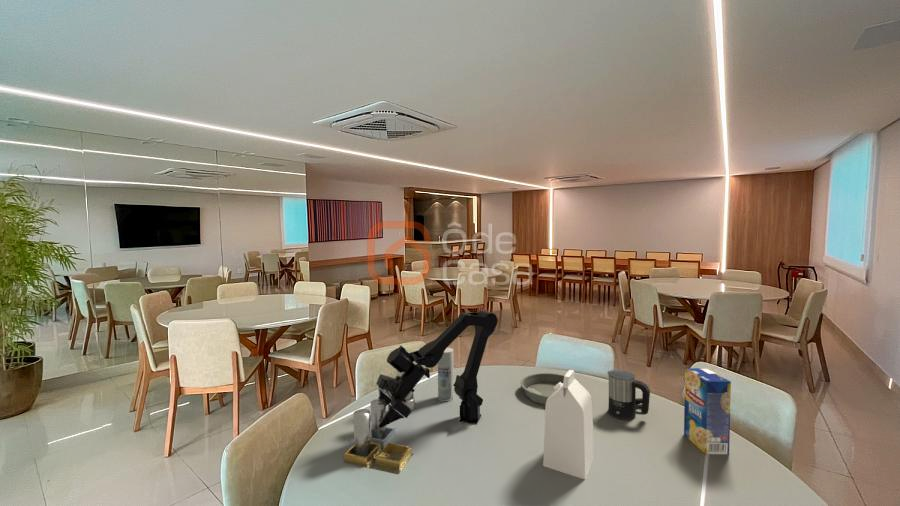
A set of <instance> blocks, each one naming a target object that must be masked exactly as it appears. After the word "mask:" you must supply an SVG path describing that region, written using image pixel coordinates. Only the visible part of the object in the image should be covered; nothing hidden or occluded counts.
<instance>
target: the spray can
mask: <svg viewBox="0 0 900 506" xmlns="http://www.w3.org/2000/svg"><path fill="white" fill-rule="evenodd" d="M454 376H455V375H454V349H453V348H452V347H449V346H448V347H447V348H446V349H445V351H444V353H443V356H442V358H441V359H440V361H439V362H438V363H437V391H438V393H437V396H438V400H439V401H440V400H441V402H443V401H449V402H452V401H454V398H455V396H454V393H455V391H454V386H453V385H454V383H455V382H454V379H455V378H454ZM451 400H452V401H451Z"/></svg>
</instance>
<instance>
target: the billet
mask: <svg viewBox="0 0 900 506" xmlns="http://www.w3.org/2000/svg"><path fill="white" fill-rule="evenodd" d="M386 413H387V406H386V401H385V400H384V399H378V398H376V399H373V400H371V401H370V429H371V438H375V439H380V440H384V439H385V437H386V436H387V435H388V434H387V430H386V427H387V425H386V426H384V427H382V428H380V427H379V424H380V422H381V421H382V419H383V418H384V416H385V415H386Z"/></svg>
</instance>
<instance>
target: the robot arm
mask: <svg viewBox="0 0 900 506" xmlns="http://www.w3.org/2000/svg"><path fill="white" fill-rule="evenodd" d="M498 323H499V318H498V317H497V315H496V314H495V313H493V312H491V311H488V310H485V309H481V310H479V311H477V312H476V311H475V312H474V311H472V312H461V313H459V315H458V316H457V318H455V320H454V321H452V323H451V324H449V326H448V327H446V328H445V329H444V331H442V332H441V334H439V335H438V337H437V338H435V339H434V340H432V341H429V342H427V343H426V344H424V345H423V346H422V347H420V348H419V349H418V350H415V351H412V352H409V351H407V350H406V349H405V347H404V346H402V345H400V346H398V347H397V348H394V349H393V350H392V351H391V352H390V353H389V354H388V356H387V357H386V363H387V364H389V365H390V366H391V367H392V368H393V369H395V370H396V372H397V371H398V372H400V373H401V372H404V373H403V374H402V375H401V377H400V376H399V375H398V376H397V375H396V377H395V378H394V377H391V376H388V375H385V374H379V376H378V379H377V381H376V385H377V387H378V390H377V391H378V398H377V399H384V400H385V401H386V407H387V406H388V409H387V411H386V415H385V416H384V418H383V419H382V421H381V422H380V424H379V427H380V428H382V427H384V426H386V427H387V426H388V425H390V424H392V423H394V422H396V421H398V420H401V419H405V418H406V419H408V417H409V416H410V415H411V412H412V411H411V409H410V408H409V406H408V405H407V404H406V403H405V402H406V399H405V398H406V397H407V396H408V394H409V393H410V392H412V393H413V394H414V392H415V391H416V390H415V389H414V388H415V387H416V386H417V385H418V383H419V382H420V381H421V379H422V378H424V376H425V377H426V378H427V379H430V378H431V374H430V369H431V368H432V369H433V368H434V367H436V366H438V362H439V361H440V359H441V358H442V356H443V353H444V351H445V349H446V348H447V347H448V348H449V346H450V345H452V343H453V342H454V341H455V340H456V339H457V338H458V337H459V336H460V335H461V334H462V333H463V332H464V331H465V330H466V329H467V328H468V327H469V326H473V327H474V337H473V340H472V344H471V346H470V350H469V354H468V356H467V360H466V363H465V367H464V370H463V372H462V373H461V374H460V375H459V374H457V375H456V377H455V382H454V385H453V386H454V393H455V395H457V396H458V398H459V399H460V400H461V401H460V405H459V422H462V423H467V424H468V423H469V424H473V425H477V424H478V423H479V421H480V419H482V418H481V417H482V414H481V406H482V405H483V402H484V399H483V398H482V397H481V396H479V394H478V387H479V386H478V373H479V370H480V366H481V363H482V360H483V357H484V354H485V350H486V347H487V343H488V340H489V338H490V336H491V335H492V334H493V333H494V332H495V330H496V329H497V325H498ZM414 362H415V363H414ZM424 366H425V367H424ZM429 368H430V369H429Z"/></svg>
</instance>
